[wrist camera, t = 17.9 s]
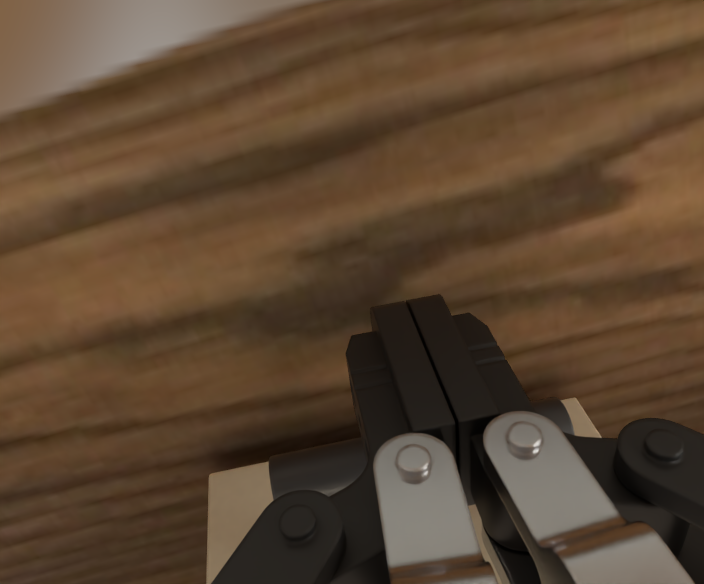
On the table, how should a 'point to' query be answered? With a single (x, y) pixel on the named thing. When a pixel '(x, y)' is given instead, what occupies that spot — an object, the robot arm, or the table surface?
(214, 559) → the drawer
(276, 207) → the table surface
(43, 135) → the table surface
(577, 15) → the table surface
